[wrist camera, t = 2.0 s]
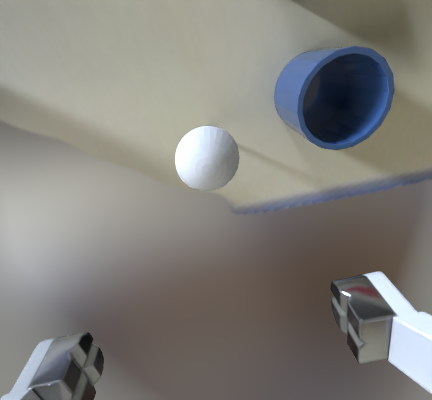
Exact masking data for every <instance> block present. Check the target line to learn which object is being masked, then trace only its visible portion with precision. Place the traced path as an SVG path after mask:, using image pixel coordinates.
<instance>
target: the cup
mask: <svg viewBox="0 0 432 400" xmlns="http://www.w3.org/2000/svg"><path fill="white" fill-rule="evenodd" d="M393 94H394V81H393V74H392V71H391V69H390V67H389V65H388V64H387V62H386V60H385V58H384V57H382V56H381V55H379V54H378V53H377V52H375V51H374V50H373V49H370V48H364V47H358V46H349V47H338V48H326V49H317V50H312V51H308V52H305V53H302V54H300V55H298V56H297V57H295V58H294V59H293V60H291V61H290V62H289V63H288V64H287V65H286V67H285V68H284V69H283V71H282V72H281V74H280V76H279V78H278V80H277V83H276V87H275V93H274V101H275V107H276V110H277V112H278V115H279V116H280V118H281V119H282V120H283V122H285V124H286V125H287V126H289V127H290V128H292V129H293V130H295V131H296V132H297V133H299V134H300V135H302V136H303V137H304V138H306V139H307V140H309V141H310V142H312V143H314V144H315V145H317V146H319V147H321V148H324V149H332V150H339V149H344V148H348V147H352V146H355V145H356V144H358V143H360V142H362V141H363V140H365V139H367V138H368V137H369V136H370V135H371V134H372V133H373V132H374V131H375V130H376V129H377V128H378V127H379V126H380V125H381V124H382V122H383V120H384V119H385V117H386V115H387V113H388V112H389V110H390V107H391V103H392V99H393Z"/></svg>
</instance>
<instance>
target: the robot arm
mask: <svg viewBox="0 0 432 400" xmlns="http://www.w3.org/2000/svg"><path fill="white" fill-rule="evenodd" d="M331 291H332V293H333V295H334V297H333V298H332V300H331V303H332V310H333V314H334V317H335V319H336V322H337V324H338V326H339V328H340V330H341V331H343V332H344V333H346V334H347V338H348V339H347V343H348V345H349V347H350V349H351V350H352V352H353V354H354V356H355V358H356V360H357V362H358V363H359V364H361V363H368V362H374V361H380V360H386V359H388V361H389V362H391V363H392V364H393V365H395V366H396V367H397V368H398V369H400V370H401V371H402V372H404V373H405V374H406V375H408V376H409V377H410V378H411V379H413V380H414V381H415V382H417V383H418V384H419V385H421V386H422V387H423V388H424V389H426V390H427V391H428V392H430V393H431V394H432V315H430V314H427V313H426V312H417V311H416V310H415V308H414V307H413V306H412V305H411V304H410V303H409V302H408V301H407V299H406V298H405V297H404V296H403V295H402V294H401V293H400V292H399V290H398V289H397V288H396V287H395V286H394V285H393V284H392V283H391V282H390V281H389V279H388V278H387V277H386V276H385V275H384V274H383V273H382V272H380V271H378V272H373V273H368V274H364V275H358V276H354V277H349V278H345V279H340V280H336V281H332V282H331ZM92 341H93V338H92V336H91V335H90V333H80V334H74V335H69V336H63V337H58V338H53V339H47V340H43V341H41V342H40V343H39V344H38V345H37V347H36V348H35V350H34V352H33V354H32V355H31V357H30V359H29V360H28V362H27V364H26V366H25V368H24V369H23V371H22V373H21V374H20V376H19V378H18V380H17V381H16V383H15V385H14V387H13V388H12V390H11V392H10V393H8V394H5V395H4V396H3V397H1V398H0V400H94V397H95V394H96V391H95V388H94V385H95V384H96V382H97V381H98V380H99V379H100V377H101V374H102V371H103V363H104V358H103V354H102V351H101V350H100V348H99V347H98V346H95V345H94V344H92Z"/></svg>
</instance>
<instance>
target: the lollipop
mask: <svg viewBox="0 0 432 400" xmlns="http://www.w3.org/2000/svg"><path fill="white" fill-rule="evenodd" d="M175 164H176V169H177V172H178V174H179V176H180V178H181V179H182V180H183V182H184V183H186V184H187V185H188V186H190V187H191V188H193V189H196V190H200V191H211V190H216V189H219V188H221V187H223V186H224V185H226V184H227V183H228V182H229V181H230V180H231V179H232V178H233V176H234V175H235V173H236V170H237V168H238V164H239V152H238V147H237V144H236V142H235V141H234V139H233V137H232V136H231V135H230V134H229V133H228V132H226V131H225V130H223V129H221V128H218V127H214V126H203V127H199V128H196V129H194V130H192V131H190V132H189V133H187V134H186V135H185V136H184V137H183V138H182V140H181V141H180V143H179V145H178V147H177V150H176V155H175Z"/></svg>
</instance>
